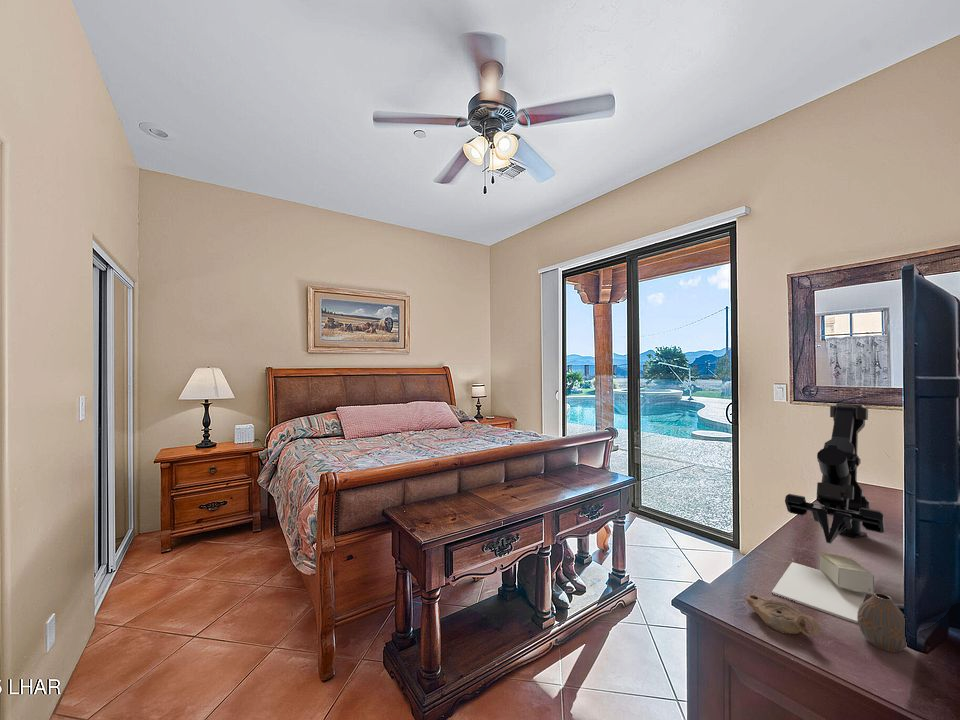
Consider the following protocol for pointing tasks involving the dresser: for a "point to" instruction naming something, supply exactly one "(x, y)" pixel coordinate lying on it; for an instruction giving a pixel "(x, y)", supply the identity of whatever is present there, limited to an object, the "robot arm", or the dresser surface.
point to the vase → (882, 623)
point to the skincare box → (847, 573)
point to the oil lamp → (782, 616)
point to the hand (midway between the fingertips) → (828, 542)
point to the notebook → (818, 592)
